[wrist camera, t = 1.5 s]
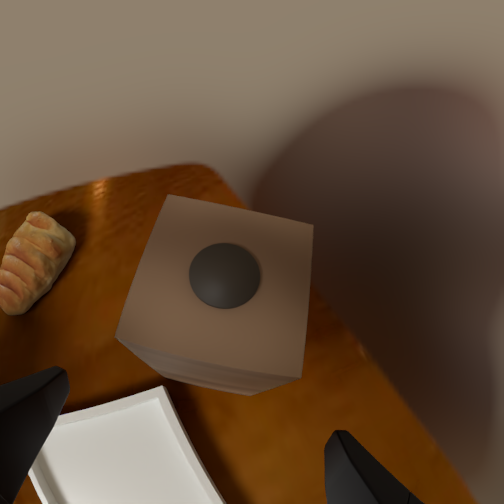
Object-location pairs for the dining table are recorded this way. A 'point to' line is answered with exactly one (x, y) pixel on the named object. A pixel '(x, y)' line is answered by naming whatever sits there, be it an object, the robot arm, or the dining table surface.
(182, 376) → the block
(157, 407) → the tray
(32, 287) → the pastry
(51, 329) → the dining table surface
